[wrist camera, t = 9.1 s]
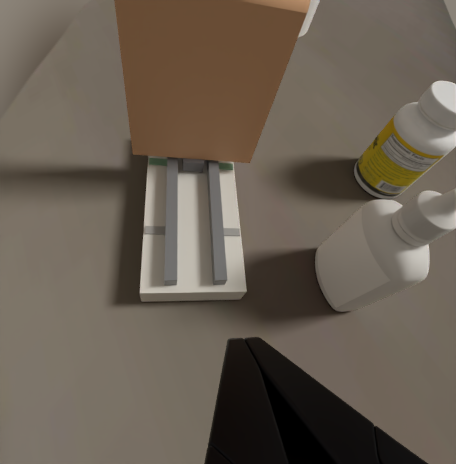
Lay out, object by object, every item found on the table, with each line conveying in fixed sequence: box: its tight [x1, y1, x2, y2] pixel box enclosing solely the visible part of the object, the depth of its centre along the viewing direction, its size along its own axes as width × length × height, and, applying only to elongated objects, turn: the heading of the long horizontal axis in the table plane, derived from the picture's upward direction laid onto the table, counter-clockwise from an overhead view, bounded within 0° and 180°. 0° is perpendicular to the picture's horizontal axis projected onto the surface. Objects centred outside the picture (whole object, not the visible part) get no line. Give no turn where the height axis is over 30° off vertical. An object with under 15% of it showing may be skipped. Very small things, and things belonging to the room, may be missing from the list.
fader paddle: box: [115, 0, 311, 172], centre depth 19 cm, size 2×9×13 cm, turn 94°
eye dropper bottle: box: [315, 188, 456, 312], centre depth 19 cm, size 4×6×12 cm
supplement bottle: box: [354, 81, 456, 199], centre depth 27 cm, size 5×5×10 cm
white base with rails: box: [140, 156, 247, 302], centre depth 24 cm, size 15×7×3 cm, turn 4°
